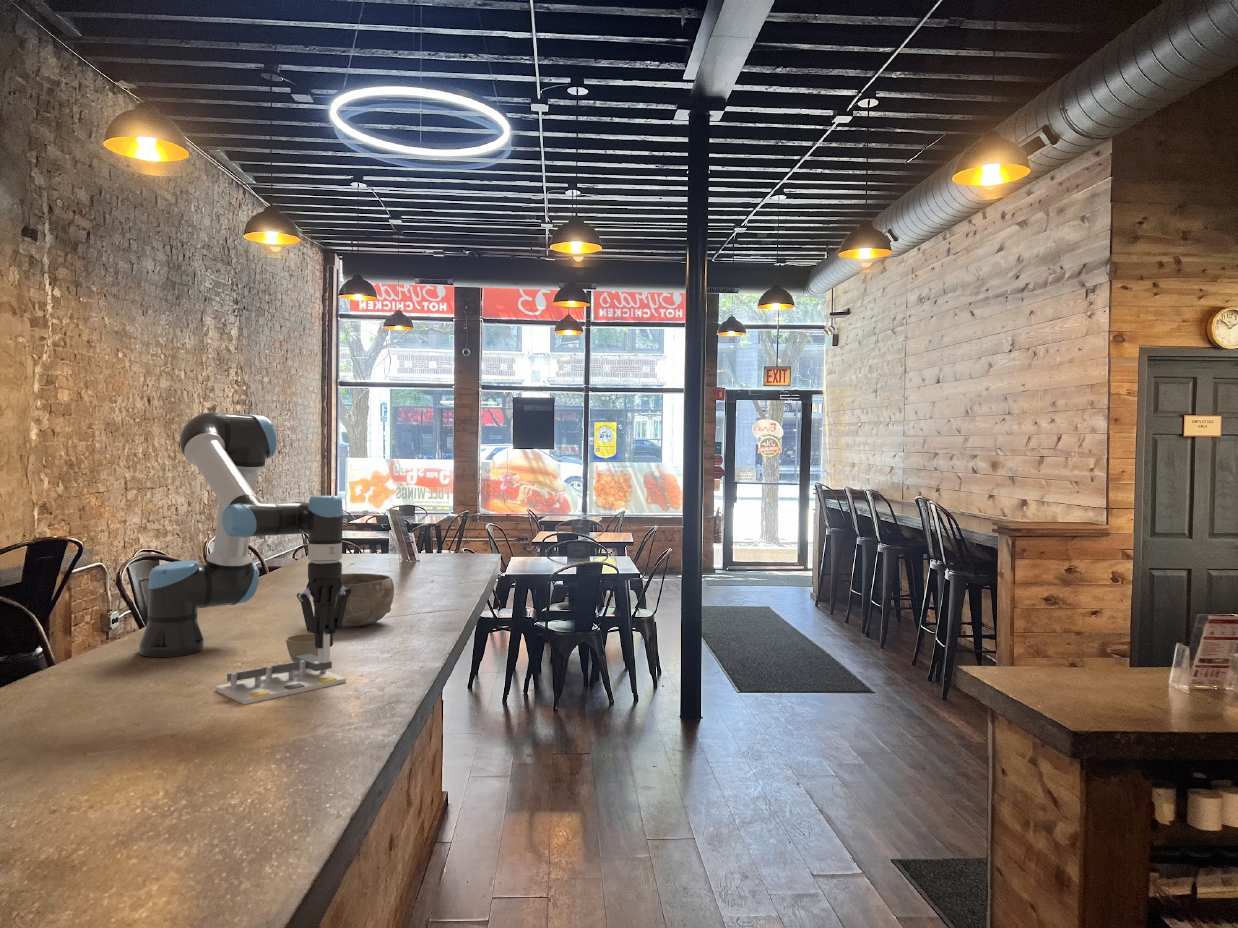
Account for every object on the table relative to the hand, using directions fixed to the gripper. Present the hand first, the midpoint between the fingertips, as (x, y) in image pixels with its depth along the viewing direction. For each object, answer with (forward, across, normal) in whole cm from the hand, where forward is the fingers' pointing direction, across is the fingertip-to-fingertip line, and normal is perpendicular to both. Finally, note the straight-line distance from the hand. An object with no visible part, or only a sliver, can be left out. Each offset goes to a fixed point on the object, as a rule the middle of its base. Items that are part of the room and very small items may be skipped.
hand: (323, 661), depth 189 cm
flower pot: (+5, +5, +17) cm, 18 cm away
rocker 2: (+1, -8, +5) cm, 9 cm away
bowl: (+4, +39, +51) cm, 64 cm away
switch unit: (+5, -8, +4) cm, 10 cm away
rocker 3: (+1, 0, +5) cm, 5 cm away
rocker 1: (+1, -16, +5) cm, 17 cm away
